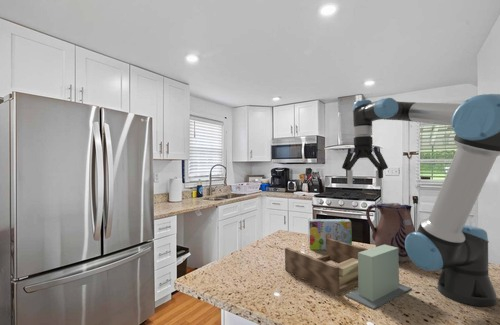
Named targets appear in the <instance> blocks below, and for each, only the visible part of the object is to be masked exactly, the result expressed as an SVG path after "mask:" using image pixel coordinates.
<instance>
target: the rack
mask: <svg viewBox="0 0 500 325" xmlns="http://www.w3.org/2000/svg"><path fill="white" fill-rule="evenodd" d="M368 249H369V248H365V247H362V246H358V245H354V244H352V245H351V244H348V243H344V242H341V241H337V240H334V239H330V238H326V250H325V255H323V256H320V257H319V256H318V257H314V256H310V255H308V254H306V253H303V252H301V251H298V250H295V249H292V248H290V247H285V248H284V264H285V265H284V266H285V268H284V270H285V271H287V272H289V273H291V274H293V275H294V276H297V277H299V278H301V279H303V280H305V281H307V282H308V283H311V284H313V285H315V286H317V287H319V288H321V289H322V290H323V289H324V291H326V292H329V293H331V294H333V295H335V296H338V295H341V294H343V293H345V292H348V291H349V290H352V289H354V288H356V287H357V288H358V280H355V281H353V282H350V283H348V284H345V285H343V286H341V287H339V267H337V266H335V265H336V264H332V263H329V262H326V261H328V260H332V261H334V262H337V263H341V262H344V261H346V260H349V259H351V258H354V259H358V253H359V252H362V251H365V250H368Z"/></svg>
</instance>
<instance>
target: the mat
mask: <svg viewBox="0 0 500 325" xmlns="http://www.w3.org/2000/svg"><path fill="white" fill-rule="evenodd" d="M411 290H412V287H410V286H407V285H403V284H401V283H399V288H398V289H396V290H394V291H392V292H390V293H388V294H386V295H384V296H382V297H380V298H378V299H376V300H375V301H371V300H368V299H366V298H364V297H362V296H360V295H359V294H358V288H357V289H355V290H353V291H351V292H349V293H346V294H344V295H345V297H346V298H348V299H351V300H353V301H355V302H357V303H359V304H361V305H363V306H365V307H368V308H369V309H371V310H376V309H378V308H379V307H382V306H383V305H384V304H387V303H389V302H390V301H392V300H394V299H396V298H398V297H400V296H403V294H406V293H408V292H409V291H411Z"/></svg>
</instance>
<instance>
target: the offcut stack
mask: <svg viewBox="0 0 500 325" xmlns="http://www.w3.org/2000/svg"><path fill="white" fill-rule="evenodd" d="M334 265H335V266H337V267H339V287H341V286H343V285H345V284H348V283H350V282H353V281H355V280H358V259H354V258H351V259H349V260H346V261H344V262H341V263H340V262H338V263H337V264H334Z"/></svg>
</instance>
